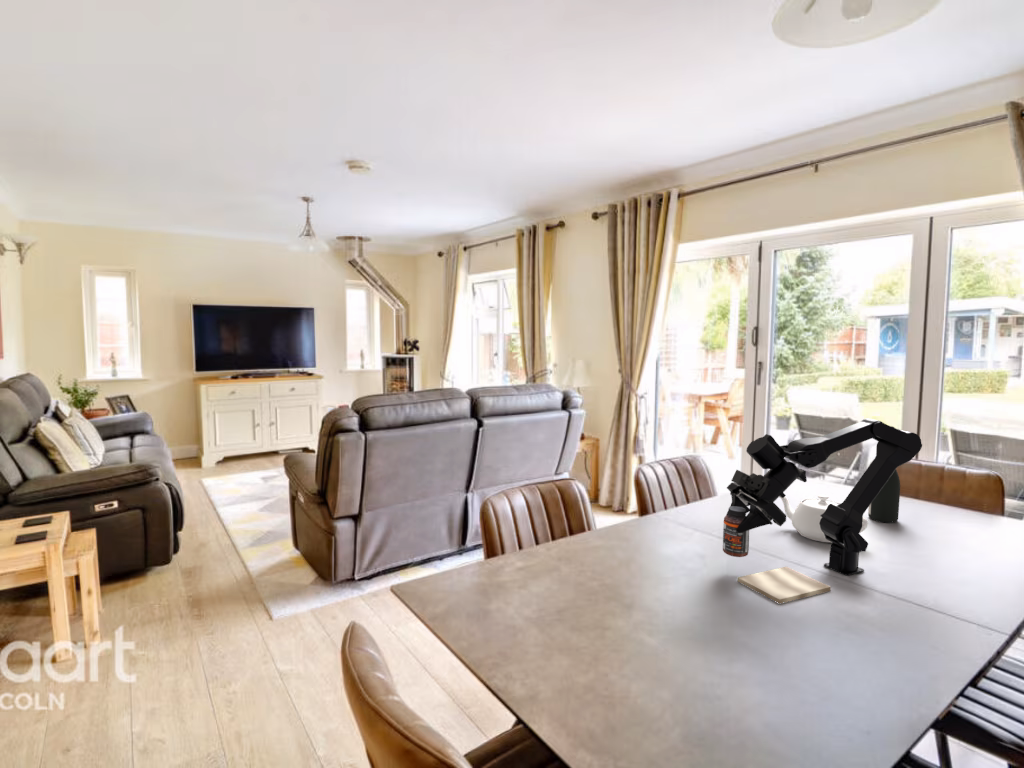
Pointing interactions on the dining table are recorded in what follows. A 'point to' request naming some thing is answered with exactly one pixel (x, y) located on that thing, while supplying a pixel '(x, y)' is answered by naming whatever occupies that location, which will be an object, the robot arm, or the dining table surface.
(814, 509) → the teapot
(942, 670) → the dining table surface
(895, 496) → the wine bottle
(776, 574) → the board
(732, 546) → the supplement bottle
